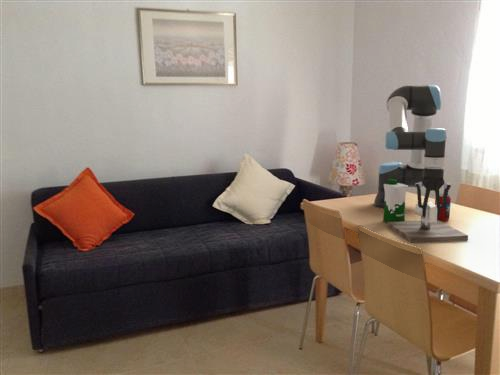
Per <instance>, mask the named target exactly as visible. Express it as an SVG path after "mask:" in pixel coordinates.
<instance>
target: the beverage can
mask: <svg viewBox="0 0 500 375" xmlns="http://www.w3.org/2000/svg"><path fill="white" fill-rule="evenodd" d="M439 197H440V205H442V199H443V193H439ZM451 202H452V199H451V197H450V194H448V196H447V202H446V207H445V208H443V209H441V210H440V217H437V220H439V221H441V222H446V221H449V220H450V216H451V215H450V213H451ZM434 205H436V197H435V198H434Z"/></svg>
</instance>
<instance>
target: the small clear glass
mask: <svg viewBox="0 0 500 375" xmlns="http://www.w3.org/2000/svg"><path fill="white" fill-rule="evenodd" d="M420 221H421V226H420V228H421V229H424V230H429V229H430V227H431V222H429V221H428V222H427V225H425V217H423V216H420Z"/></svg>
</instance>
